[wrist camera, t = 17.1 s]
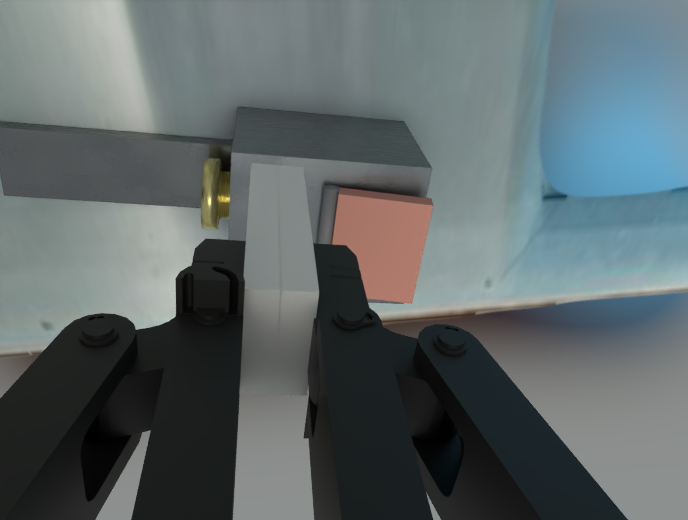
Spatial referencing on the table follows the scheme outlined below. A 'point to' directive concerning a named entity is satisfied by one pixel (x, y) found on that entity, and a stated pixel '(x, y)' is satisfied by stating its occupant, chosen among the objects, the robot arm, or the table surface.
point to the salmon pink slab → (378, 237)
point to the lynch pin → (214, 193)
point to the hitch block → (236, 156)
